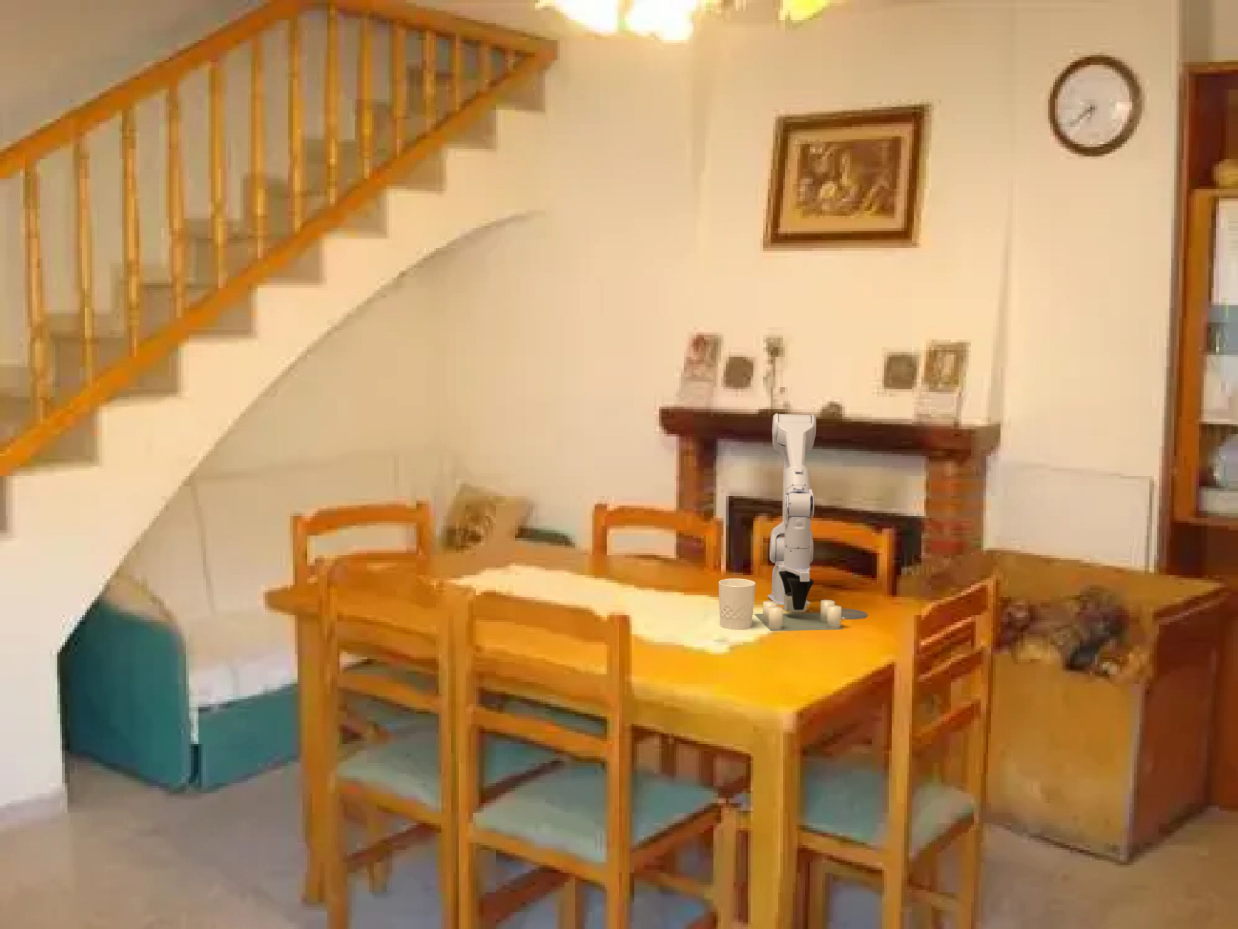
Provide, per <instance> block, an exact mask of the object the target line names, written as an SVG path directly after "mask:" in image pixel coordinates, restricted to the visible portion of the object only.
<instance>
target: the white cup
mask: <svg viewBox="0 0 1238 929" xmlns="http://www.w3.org/2000/svg"><path fill="white" fill-rule="evenodd" d="M755 594H756V582H755V581H753V580H750V579H746V578H725V579H721V580H719V581H718V604H719V606H718V607H719V616H720V617H719V619H720V620H719V625H720V627H721V628H723V629H727V630H731V631H732V630H735V631H736V630H738V631H740V630H743V631H744V630H748V629H751V628H752V624H753V614H754V606H755Z"/></svg>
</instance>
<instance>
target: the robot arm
mask: <svg viewBox="0 0 1238 929" xmlns="http://www.w3.org/2000/svg"><path fill="white" fill-rule="evenodd" d="M816 432H817V418H816V416H815V415H814V413H810V414H791V413H790V414H789V413H787V414H786V413H784V414H783V413H782V414H781V413H779V414H778V413H775V414H774V415H773V416H772V428H771V433H772V446H773V450H774V451H776V452H778V453H779V454H780V457H781V460H782V521H781V522H780V523H779V524H778V525H776V526H775V527H773V528H772V529H771V532H770V540H769V561H771V564H772V563H773V564H774V566H773V568H772V573H771V575H772V576H771V594H767V598H768V599H770V601H775V602H777V606H784V593H790V592H791V593H792V602H793V608H794V610H803V609H804V606H805V603H806V599H808V595H809V593H810V591H811V589H812V586H813V585H814V582H815V580H814V579H813V578H811V577H810V576H811V572H810V571H811V565H810V564H811V563H812V562H813V560H814V539H813V531H812V519H814V518H813V517H814V513H815V497H814V493H813V489H812V488H811V487H812V486H811V472H810V470H809V469H808V467H806V466H805V459H806V454H807V453H809V452H811V451H812V450H813V447H814V444H815V439H816V435H817V434H816ZM810 517H811V518H810ZM807 605H808V606H809V605H811V602H810V601H809V600H807ZM807 605H806V606H807Z"/></svg>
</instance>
